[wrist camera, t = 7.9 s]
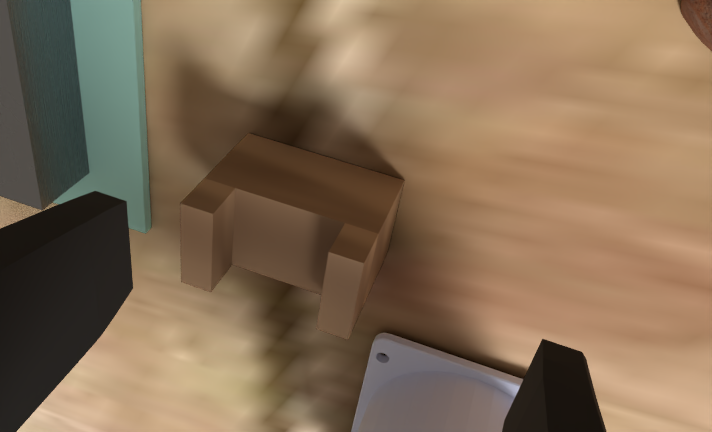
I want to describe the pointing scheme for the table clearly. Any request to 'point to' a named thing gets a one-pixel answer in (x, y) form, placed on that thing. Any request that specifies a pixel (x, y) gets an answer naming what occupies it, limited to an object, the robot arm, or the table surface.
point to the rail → (39, 103)
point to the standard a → (291, 225)
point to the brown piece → (699, 19)
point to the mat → (113, 104)
